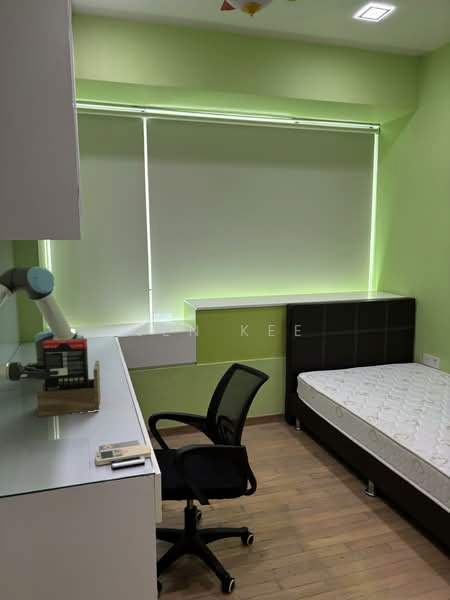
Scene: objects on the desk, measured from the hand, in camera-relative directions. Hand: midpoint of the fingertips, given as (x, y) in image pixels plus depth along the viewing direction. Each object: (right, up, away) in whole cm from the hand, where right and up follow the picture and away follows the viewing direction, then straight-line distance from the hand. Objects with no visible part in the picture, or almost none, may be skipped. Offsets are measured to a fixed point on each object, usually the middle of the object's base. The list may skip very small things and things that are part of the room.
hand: (68, 368), depth 178 cm
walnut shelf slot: (-1, -17, +2) cm, 18 cm away
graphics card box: (-1, -15, +3) cm, 16 cm away
